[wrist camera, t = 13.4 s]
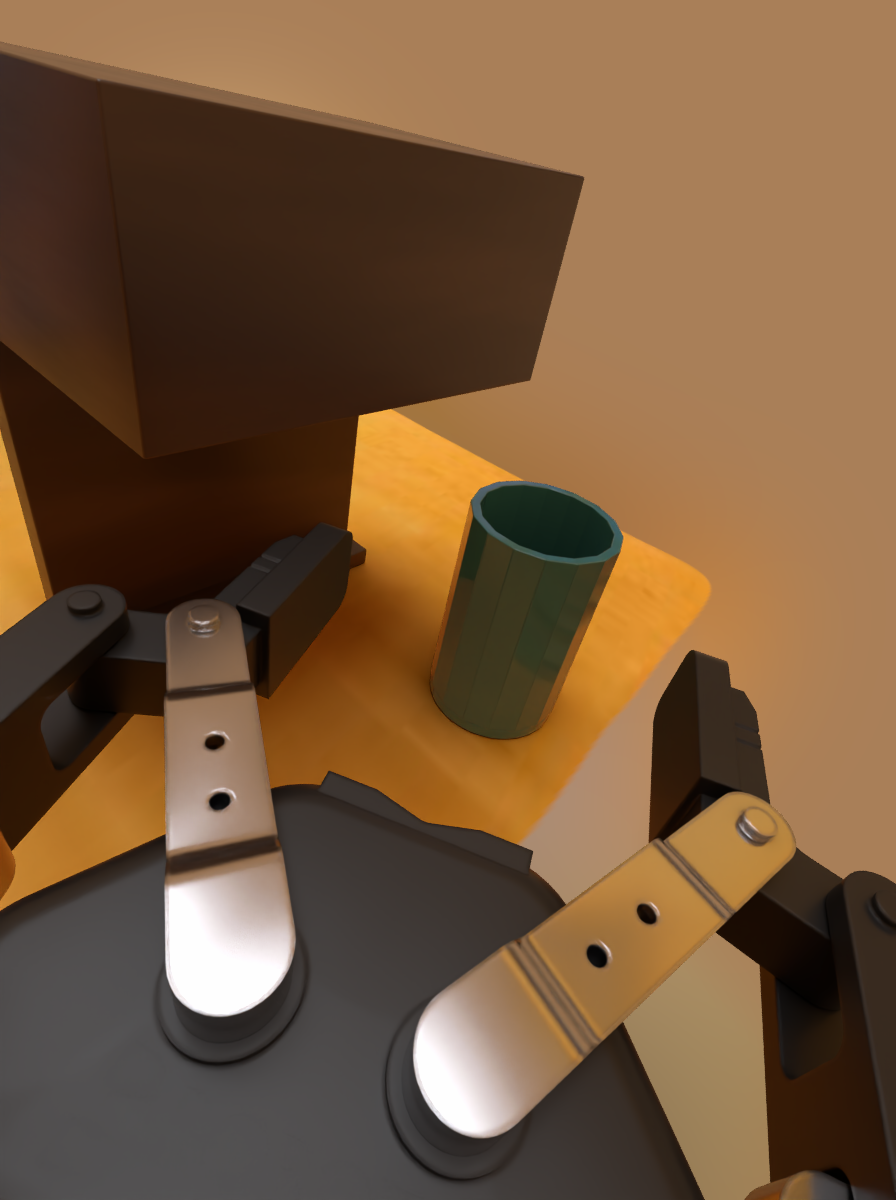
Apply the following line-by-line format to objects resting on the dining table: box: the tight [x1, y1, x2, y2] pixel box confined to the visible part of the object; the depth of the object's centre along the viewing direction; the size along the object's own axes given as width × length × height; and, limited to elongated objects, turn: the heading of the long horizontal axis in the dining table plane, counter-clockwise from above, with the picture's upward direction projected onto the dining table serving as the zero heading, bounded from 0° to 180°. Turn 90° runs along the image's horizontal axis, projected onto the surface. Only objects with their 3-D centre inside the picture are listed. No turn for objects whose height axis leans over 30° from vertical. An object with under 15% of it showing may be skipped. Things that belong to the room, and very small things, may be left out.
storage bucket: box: [430, 481, 623, 739], centre depth 27 cm, size 6×6×10 cm
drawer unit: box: [0, 42, 584, 614], centre depth 25 cm, size 11×18×21 cm, turn 138°
